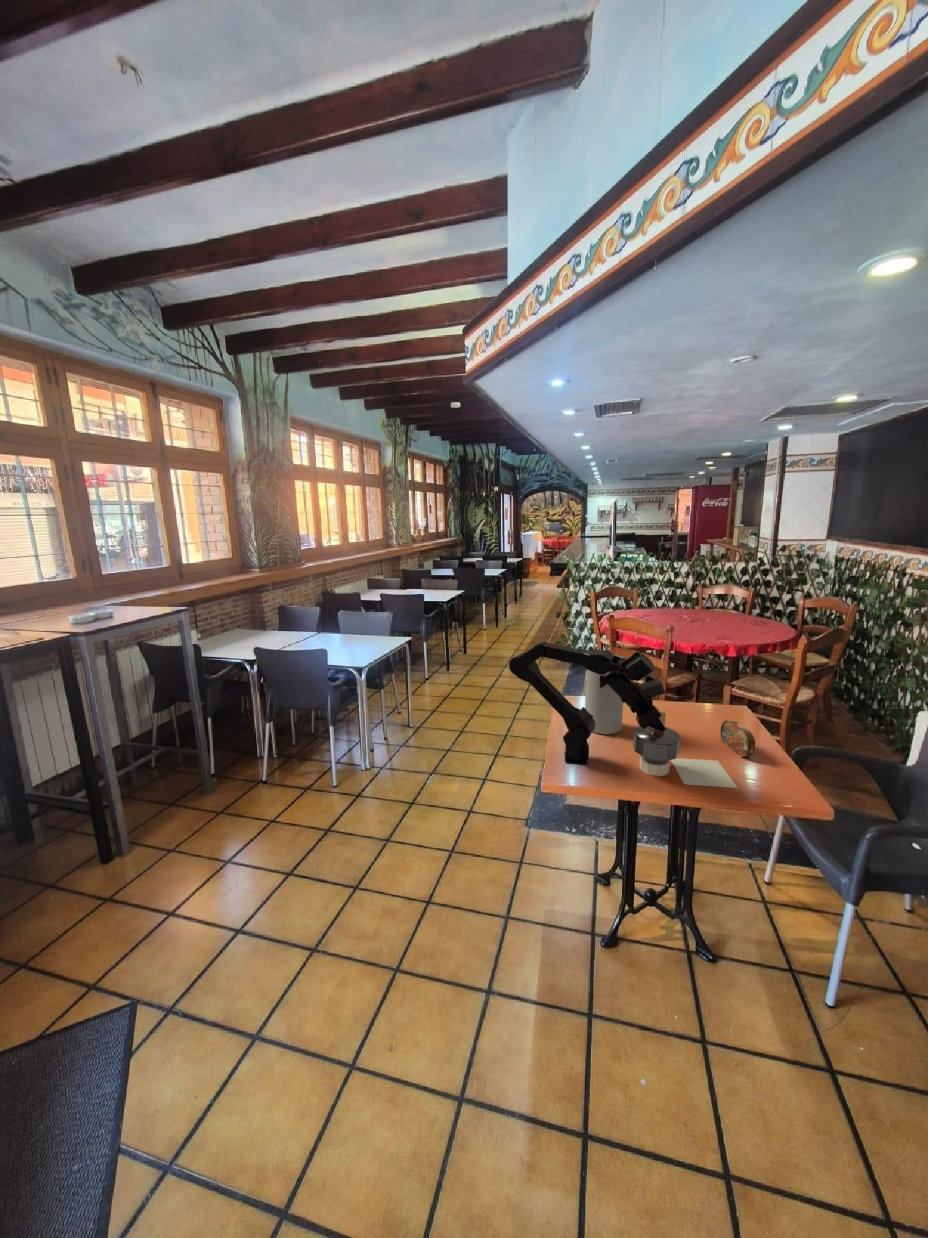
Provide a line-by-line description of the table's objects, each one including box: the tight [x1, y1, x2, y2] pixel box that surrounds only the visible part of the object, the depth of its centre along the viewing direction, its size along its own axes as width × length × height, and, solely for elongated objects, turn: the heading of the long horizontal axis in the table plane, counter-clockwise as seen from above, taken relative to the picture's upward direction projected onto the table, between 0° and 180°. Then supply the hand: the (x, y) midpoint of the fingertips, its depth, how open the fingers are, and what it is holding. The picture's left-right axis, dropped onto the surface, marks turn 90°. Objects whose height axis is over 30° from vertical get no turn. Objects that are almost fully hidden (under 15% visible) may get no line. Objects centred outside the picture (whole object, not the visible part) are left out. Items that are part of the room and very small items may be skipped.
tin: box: [719, 720, 756, 758], centre depth 152 cm, size 15×3×8 cm, turn 1°
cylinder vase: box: [584, 654, 625, 736], centre depth 168 cm, size 12×12×25 cm
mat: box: [670, 757, 738, 789], centre depth 140 cm, size 14×15×1 cm
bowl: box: [639, 755, 671, 777], centre depth 142 cm, size 8×8×4 cm
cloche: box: [632, 711, 681, 761], centre depth 140 cm, size 12×12×11 cm
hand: (662, 727), depth 139 cm, fingers closed on cloche, 4 cm apart
